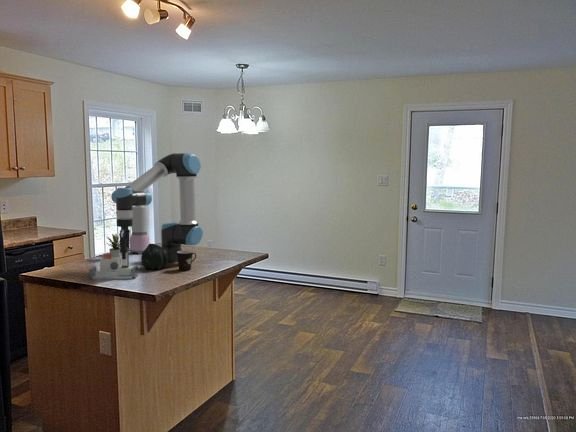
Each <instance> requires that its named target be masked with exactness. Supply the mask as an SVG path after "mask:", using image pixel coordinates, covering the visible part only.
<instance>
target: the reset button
mask: <svg viewBox="0 0 576 432" xmlns="http://www.w3.org/2000/svg"><path fill="white" fill-rule="evenodd" d="M102 255H103V257H104V259H111V255H112V253H110V252H107V253H106V252H105V253H103V254H102Z"/></svg>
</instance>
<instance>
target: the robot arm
mask: <svg viewBox="0 0 576 432" xmlns="http://www.w3.org/2000/svg"><path fill="white" fill-rule="evenodd" d="M201 167H202V166H201V161H200V158H199V157H198V155H197V154H194V153H191V152H190V153H188V152H186V153H182V152H181V153H174V152H173V153H170V154H168V155H165V156H163V157H162V158H161V159H159V160H158V161H156V162H155V163H154V165H153V166H152V167H151V168H150V169H148V170H147V171H145V172H144V173H143V174H141V175H140V176H139V177H137V178H136V179H134V180H133V181H132V182H131V183H129V184H128V185H126V186H124V187H117V188H116V190H114V191H113V192H112V193H111V197H110V198H111V201H112V202H113V203H114V204H115V205H116V211H115V213H114V214H116V218H117V219H116V227H119V228H120V230H119V235H118V237H119V241H120V253H121V256H120V257H121V266H127V247H129V252H130V236H131V235H130V233H131V230H130V229H129V227H130V228H131V226H132V225H133V220H132V219H131V218H132V217H133V210H132V207H133V206H148V205H150V204H151V203H152V201H153V200H152V199H153V197H152V196H153V195H152V193H151V192H149V191H147V189H148V188H150V187H151V186H152V185H153V184H154V183H156V182H158V181H159V180H160V179H161V178H166V177H167V176H169V175H171V174H175V177H176V178H177V179H178V183H179V210H180V211H179V212H180V220H179V221H177V222H166V223H163V224H162V225H161V230H160V231H161V233H160V235H161V237H160V238H161V247H162V248H163V249H165V250H166V251H167V253H168V255H169V260H168V263H178V257H177V252H178V251H183V249H182V246H183V245H184V246H189V247H190V246H193V247H194V246H197V245H199V244H200V242H201V241H202V238H203V236H204V235H203V229H202V227H200V226H199V222H198V221H197V219H196V200H195V199H196V198H195V197H196V196H195V195H196V194H195V192H196V191H195V179H196V178H197V176H198V175H197V174H198V173H200V171H201Z"/></svg>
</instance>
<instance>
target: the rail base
mask: <svg viewBox="0 0 576 432" xmlns="http://www.w3.org/2000/svg"><path fill="white" fill-rule="evenodd" d="M133 266H134V265H133ZM138 276H139V266H138V265H135V266H134V267H133V268H132V275H117V271H100V270H97V265H96V266H95V265H94V266H92V267H90V268H88V280H131V279H133V280H134V279H137V277H138Z"/></svg>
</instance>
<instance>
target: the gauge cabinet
mask: <svg viewBox="0 0 576 432" xmlns="http://www.w3.org/2000/svg"><path fill="white" fill-rule="evenodd" d="M119 266H121V256H120V257H111V259H104V256H103V257H101V258H100V259H99V268H100V269H99V271H117V268H118V267H119Z"/></svg>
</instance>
